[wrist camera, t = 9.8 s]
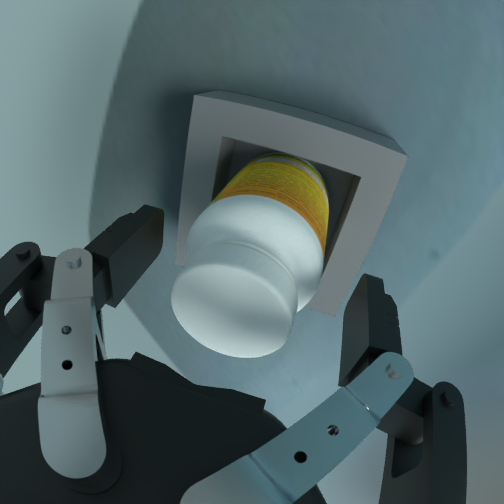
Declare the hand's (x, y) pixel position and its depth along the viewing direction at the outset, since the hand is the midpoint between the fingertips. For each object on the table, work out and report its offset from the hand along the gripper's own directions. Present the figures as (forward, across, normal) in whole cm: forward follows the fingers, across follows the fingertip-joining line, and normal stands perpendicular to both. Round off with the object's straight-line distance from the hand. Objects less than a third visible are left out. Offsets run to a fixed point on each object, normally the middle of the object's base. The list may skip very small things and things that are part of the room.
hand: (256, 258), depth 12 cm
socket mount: (+8, 0, 0) cm, 8 cm away
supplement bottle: (+7, 0, 0) cm, 7 cm away
